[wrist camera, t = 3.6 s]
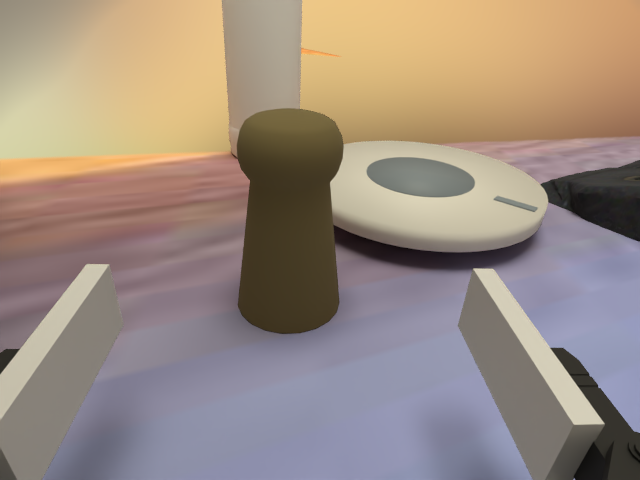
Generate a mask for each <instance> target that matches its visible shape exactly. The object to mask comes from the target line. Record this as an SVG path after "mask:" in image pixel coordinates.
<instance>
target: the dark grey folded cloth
mask: <svg viewBox="0 0 640 480" xmlns="http://www.w3.org/2000/svg"><path fill="white" fill-rule="evenodd" d="M541 186H542V187H543V188H544V190H545V192H546V194H547V197H548V202H549V203H552V204H554V205H557V206H559V207H561V208H564V209H567V210H569V211H572V212H574V213H576V214H577V215H579V216H580V217H581V218H583V219H585V220H587V221H589V222H591V223H594V224H596V225H599V226H601V227H603V228H606V229H609V230H611V231H614V232H616V233H619V234H621V235H624V236H626V237H629V238H631V239H634V240H637V241H640V160H638V161H635V162H633V163H631V164H628V165H625V166H622V167H619V168H605V169H601V170H595V171H586V172H583V173H577V174H573V175H568V176H565V177H561V178H558V179H552V180H550V181H548V182H545V183H542V184H541Z"/></svg>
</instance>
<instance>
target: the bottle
mask: <svg viewBox="0 0 640 480" xmlns="http://www.w3.org/2000/svg"><path fill="white" fill-rule="evenodd" d="M222 8H223V9H222V10H223V27H224V43H225V59H226V74H227V75H226V76H227V92H228V108H229V139H230V142H231V153H232V154H233V155H235V156H236V157H237V141H238V136H239V131H240V128H241V126H242V125H243V123H244V121H245V120H246V119H247V118H249V117H250V116H252V115H254V114H255V113H258V112H261V111H266V110H273V109H281V108H294V109H300V74H301V70H300V69H301V23H302V22H301V20H302V0H222Z"/></svg>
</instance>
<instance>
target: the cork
mask: <svg viewBox="0 0 640 480" xmlns="http://www.w3.org/2000/svg"><path fill="white" fill-rule="evenodd" d="M343 149H344V145H343V139H342V135H341V133H340V131H339V129H338V127H337V125H336V123H335V122H334V121H333V120H332V119H330V118H329V117H327V116H325V115H323V114H320V113H317V112H313V111H308V110H303V109H294V108H281V109H273V110H266V111H261V112H258V113H255V114H254V115H252V116H250V117H249V118H247V119H246V120H245V121H244V123H243V125H242V126H241V128H240V131H239V136H238V141H237V158H238V161H239V164H240V167H241V170H242V171H243V172H244V173H245V175H246V176H247V177H248V179H249V180H250V187H249V197H248V208H247V218H246V228H245V238H244V248H243V258H242V269H241V279H240V289H239V299H238V307H239V309H240V312H241V314H242V316H243V317H244V318H246V319H247V320H248V321H249V322H250V323H251V324H253V325H255V326H257V327H259V328H261V329H263V330H266V331H271V332H277V333H282V334H283V333H301V332H305V331H309V330H313V329H316V328H318V327H320V326H321V325H323V324H325V323H327V322H328V321H329V320H330V319H331V318H332V317H333V316H334V315H335V313H336V312H337V309H338V305H339V292H338V279H337V266H336V253H335V240H334V227H333V214H332V201H331V188H330V182H331V181H332V179H333V178H334V177H335V176H336V174H337V172H338V170H339V168H340V165H341V162H342V159H343Z"/></svg>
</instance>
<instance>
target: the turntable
mask: <svg viewBox="0 0 640 480" xmlns="http://www.w3.org/2000/svg"><path fill="white" fill-rule="evenodd" d="M330 188H331V201H332V214H333V225H335V226H337V227H339V228H342V229H344V230H346V231H348V232H351V233H353V234H356V235H359V236H361V237H364V238H367V239H371V240H374V241H378V242H381V243H385V244H390V245H394V246H399V247H405V248H411V249H417V250H426V251H437V252H478V251H486V250H494V249H499V248H503V247H507V246H511V245H514V244H516V243H519V242H522V241H524V240H525V239H527V238H529V237H531V236H532V235H533V234H534V233H535V232H536V231H537V230H538V229H539V227H540V226H541V223H542V220H543V217H544V215H545V212H546V209H547V205H548V197H547V194H546V192H545V190H544V188H543V187H542V186H541V185H540V184H539V183H538V182H537V181H536V180H534V179H533V178H532V177H531V176H529V175H528V174H526V173H524V172H523V171H521V170H519V169H517V168H515V167H513V166H511V165H509V164H506V163H504V162H502V161H499V160H496V159H494V158H491V157H488V156H485V155H481V154H478V153H474V152H471V151H467V150H462V149H458V148H453V147H448V146H442V145H435V144H428V143H419V142H407V141H367V142H357V143H350V144H344V149H343V159H342V162H341V165H340V168H339V170H338V172H337V174H336V176H335V177H334V178H333V179H332V181H331V182H330Z"/></svg>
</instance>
